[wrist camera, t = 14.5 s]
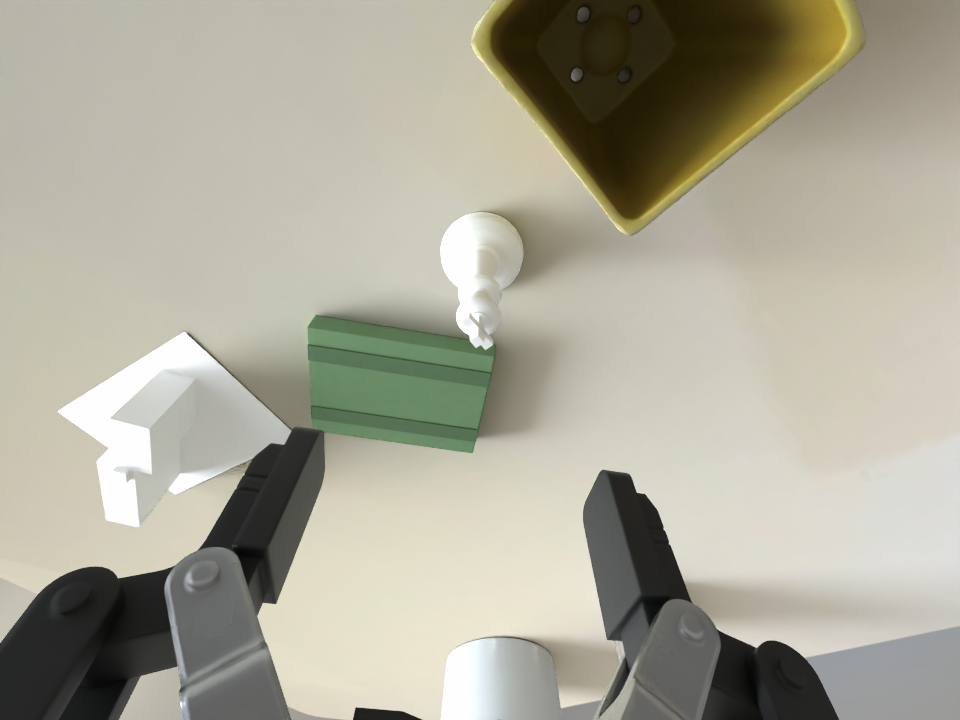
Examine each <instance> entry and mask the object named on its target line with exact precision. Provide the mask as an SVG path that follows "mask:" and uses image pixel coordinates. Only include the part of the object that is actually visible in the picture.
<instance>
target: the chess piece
mask: <svg viewBox="0 0 960 720" xmlns="http://www.w3.org/2000/svg"><path fill="white" fill-rule="evenodd" d="M523 254H524V251H523V243H522V240H521V237H520V235H519V233H518V232H517V230H516V229H515V227H514V226H513V225H512V224H511V223H510V222H509V221H507V220H506V219H504V218H503V217H501V216H499V215H496V214H493V213H488V212H476V213H471V214H468V215H465V216H463V217H461V218H459V219H458V220H457V221H455V222H454V223H453V224H452V225H451V226H450V227H449V229H448V230H447V231H446V233H445V235H444V237H443V240H442V244H441V260H442V265H443V268H444V271H445V273H446V275H447V276H448V278H449V279H450V280H451V281H452V282H453V283H454V284H455V285H456V286H457V287H459V290H458V297H459V300H460V302H461V304H460V306H459V308H458V310H457V313H456V320H457V323H458V326H459V327H460V329H461V330H462V331H463V332H465V333H466V334H468V335H470V342H471V343H472V344H473V345H474V346H475V348H477V347H478V346H480V345H481V346H482V347H483V348H484V349H485V350H486V349H488V348H489V347H491V346H493V339H492V338H491V336H490V334H491V333H493V332H494V331H495V330H496V329H497V328H498V326H499V324H500V321H501V313H500V310H499V308H498V306H497V305H498V304H499V302H500V300H501V295H502V293H501V290H503V289H504V288H506V287H507V286H508V285H510V284H511V283H512V282H513V281H514V279H515V278H516V277H517V275H518V273H519V271H520V268H521V265H522V261H523Z"/></svg>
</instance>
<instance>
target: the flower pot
mask: <svg viewBox="0 0 960 720" xmlns="http://www.w3.org/2000/svg"><path fill="white" fill-rule="evenodd" d="M581 7H587V8H588V9H589V11H590V15H589V18H588V20H587V21H586V22H583V23H581V22H579V21H578V19H577V13H578V10H579V9H580V8H581ZM634 7H637V8H639V10H640V14H641V15H640V18H639V20H638V21H637V22H635V23H631V22H629V20H628V13H629V11H630V9H632V8H634ZM471 44H472V48H473V50H474V52H475V54H476V55H477V57H478V58H479V59H480V60H481V61H482V62H483V64H484V65H485V66H486V67H487V69H488V70H489V71H490V72H491V73H492V75H493V76H494V77H495V78H496V79H497V80H498V82H499V83H500V84H501V85H502V86H503V87H504V88H505V89H506V91H507V92H508V93H509V94H510V95H511V96H512V97H513V99H514V100H515V101H516V102H517V103H518V104H519V106H520V107H521V108H522V109H523V110H524V112H525V113H526V114H527V115H528V116H529V118H530V119H531V120H532V121H533V122H534V123H535V125H536V126H537V127H538V128H539V129H540V131H541V132H542V133H543V134H544V135H545V137H546V138H547V139H548V140H549V141H550V142H551V144H552V145H553V146H554V148H555V149H556V150H557V151H558V153H559V154H560V155H561V156H562V158H563V159H564V160H565V161H566V163H567V164H568V165H569V167H570V168H571V169H572V171H573V172H574V173H575V174H576V176H577V177H578V178H579V179H580V181H581V182H582V183H583V185H584V186H585V187H586V189H587V190H588V191H589V192H590V193H591V195H592V196H593V197H594V199H595V200H596V201H597V202H598V204H599V205H600V206H601V208H602V209H603V210H604V212H605V213H606V214H607V216H608V217H609V218H610V220H611V221H612V222H613V224H614V225H615V226H616V228H617V229H618V230H619V231H620V232H622V233H624V234H626V235H628V236H632V235H634V234H636V233H637V232H639V231H640V230H642V229H643V228H644V227H646V226H647V225H648V224H649V223H651V222H652V221H653V220H654V219H656V218H657V217H658V216H659V215H660V214H662V213H663V212H664V211H665V210H666V209H668V208H669V207H670V206H671V205H673V204H674V203H675V202H676V201H678V200H679V199H680V198H681V197H682V196H683V195H685V194H686V193H687V192H688V191H690V190H691V189H692V188H693V187H694V186H696V185H697V184H698V183H699V182H700V181H702V180H703V179H704V178H705V177H707V176H708V175H709V174H710V173H712V172H713V171H714V170H715V169H717V168H718V167H719V166H720V165H722V164H723V163H724V162H725V161H727V160H728V159H729V158H730V157H731V156H733V155H734V154H735V153H736V152H738V151H739V150H740V149H741V148H743V147H744V146H745V145H746V144H748V143H749V142H750V141H752V140H753V139H754V138H755V137H757V136H758V135H759V134H760V133H762V132H763V131H764V130H765V129H766V128H768V127H769V126H770V125H771V124H772V123H774V122H775V121H776V120H777V119H779V118H780V117H781V116H782V115H784V114H785V113H786V112H788V111H789V110H790V109H792V108H793V107H794V106H796V105H797V104H798V103H799V102H801V101H802V100H803V99H804V98H805V97H807V96H808V95H809V94H810V93H811V92H813V91H814V90H815V89H816V88H818V87H819V86H820V85H821V84H823V83H824V82H825V81H827V80H828V79H829V78H830V77H831V76H833V75H834V74H835V73H836V72H838V71H839V70H840V69H841V68H842V67H843V66H844V65H845V64H847V63H848V62H849V61H850V60H851V59H852V58H853V57H854V56H855V55H856V54H857V53H859V52H860V51H861V50H862V48H863V47H864V44H865V32H864V26H863V22H862V19H861V15H860V13H859V11H858V8H857V6H856V4H855V0H495V1H494V2H493V3H492V4H491V6H490V7H489V8H488V10H487V11H486V12H485V13H484V15H483V16H482V17H481V19H480V20H479V22H478V23H477V25H476V26H475V28H474V30H473V33H472V37H471ZM577 67H578V68H580V69H581V70H582V73H583V76H582V78H581V79H580V80H579V81H576V82H575V81H573V80H572V79H571V72H572V70H573V69H575V68H577ZM623 68H626V69H628V70H629V71H630V77H629V79H628V80H627V81H626V82H620V80H619V78H618V75H619V72H620V71H621V70H622V69H623Z"/></svg>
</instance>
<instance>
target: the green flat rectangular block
mask: <svg viewBox="0 0 960 720" xmlns="http://www.w3.org/2000/svg"><path fill="white" fill-rule="evenodd" d="M307 328H308V360H309V365H310V384H311V403H312V405H311V417H312V422H313V429H317V430H323V432H327V433H334V434H341V435H348V436H355V437H362V438H369V439H376V440H383V441H390V442H397V443H404V444H411V445H418V446H425V447H432V448H439V449H446V450H454V451H461V452H468V453H473V449H474V445H475V442H476V437H477V433H478V428H479V423H480V419H481V415H482V410H483V406H484V402H485V397H486V393H487V389H488V386H489V381H490V377H491V372H492V367H493V363H494V359H495V344H493V346H491V347H489V348H488V349H486V350H485V349H484V348H483V347H482V346H481V345H480V346H478V347H477V348H475V346H474V345H473V344H472V343H471V342H470V340H466V339H460V338H454V337H448V336H442V335H435V334H429V333H423V332H417V331H410V330H404V329H398V328H392V327H386V326H379V325H373V324H367V323H361V322H355V321H348V320H342V319H336V318H330V317H324V316H317V315H316V316H315V317H314V319H313V320H312V321H311V323H310V324H309V326H308V327H307Z"/></svg>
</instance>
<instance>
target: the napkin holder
mask: <svg viewBox="0 0 960 720" xmlns="http://www.w3.org/2000/svg"><path fill="white" fill-rule="evenodd" d="M57 412H59V413H60V414H61V415H63V416H64V417H66V418H67V419H69V420H70V421H71V422H73V423H74V424H76V425H77V426H78V427H80V428H81V429H83V430H84V431H86V432H87V433H88V434H90V435H91V436H93V437H94V438H96V439H97V440H98V441H100V442H101V443H103V444H104V445H106V446H107V447H108V448H109V449H108V450H107V451H106V452H105V453H104V454H103V455H102V456H101V457H100V458H99V459H98V460H97V467H98V473H99V479H100V486H101V492H102V498H103V504H104V510H105V516H106V520H108V521H112V522H117V523H121V524H126V525H130V526H135V527H139V528H140V526H141V525H142V524H143V522H144V521H145V520H146V518H147V517H148V516H149V514H150V513H151V512H152V510H153V509H154V508H155V506H156V505H157V504H158V502H159V501H160V500H161V498H162V497H163V496H164V494H165V493H166V492H167V490H170V491H171V492H173V493H174V494H175V495H176V494H178V493H180V492H182V491H184V490H186V489H188V488H191V487H193V486H195V485H197V484H199V483H201V482H203V481H206V480H208V479H210V478H212V477H214V476H216V475H218V474H220V473H223V472H225V471H227V470H229V469H231V468H233V467H235V466H238V465H240V464H242V463H244V462H246V461H248V460H250V459H253V458H254V457H255V456H256V455H257V454H258V453H259V452H261V451H262V450H263V449H264V448H265V447H267V446H268V445H269V444H270V443H274V444H285V442H286V440H287V439H288V437H289V435H290V433H291V430H290V429H289V428H288V427H287V426H286V425H285V424H284V423H283V422H282V421H280V420H279V419H278V418H277V417H276V416H275V415H274V414H273V413H272V412H271V411H270V410H269V409H268V408H266V407H265V406H264V405H263V404H262V403H261V402H260V401H259V400H258V399H257V398H256V397H255V396H253V395H252V394H251V393H250V392H249V391H248V390H247V389H246V388H245V387H244V386H243V385H242V384H240V383H239V382H238V381H237V380H236V379H235V378H234V377H233V376H232V375H231V374H230V373H229V372H227V371H226V370H225V369H224V368H223V367H222V366H221V365H220V364H219V363H218V362H217V361H216V360H214V359H213V358H212V357H211V356H210V355H209V354H208V353H207V352H206V351H205V350H204V349H203V348H201V347H200V346H199V345H198V344H197V343H196V342H195V341H194V340H193V339H192V338H191V337H190V336H189V335H187V334H186V333H185V332H183V333H181V334H180V335H178V336H177V337H175V338H173V339H172V340H170V341H169V342H167V343H166V344H164V345H162V346H161V347H159V348H158V349H156V350H154V351H153V352H151V353H150V354H148V355H146V356H145V357H143V358H142V359H140V360H138V361H137V362H135V363H134V364H132V365H131V366H129V367H127V368H126V369H124V370H123V371H121V372H119V373H118V374H116V375H115V376H113V377H111V378H110V379H108V380H107V381H105V382H103V383H102V384H100V385H99V386H97V387H96V388H94V389H92V390H91V391H89V392H88V393H86V394H84V395H83V396H81V397H80V398H78V399H76V400H75V401H73V402H72V403H70V404H69V405H67V406H65V407H64V408H62V409H61V410H59V411H57Z"/></svg>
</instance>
